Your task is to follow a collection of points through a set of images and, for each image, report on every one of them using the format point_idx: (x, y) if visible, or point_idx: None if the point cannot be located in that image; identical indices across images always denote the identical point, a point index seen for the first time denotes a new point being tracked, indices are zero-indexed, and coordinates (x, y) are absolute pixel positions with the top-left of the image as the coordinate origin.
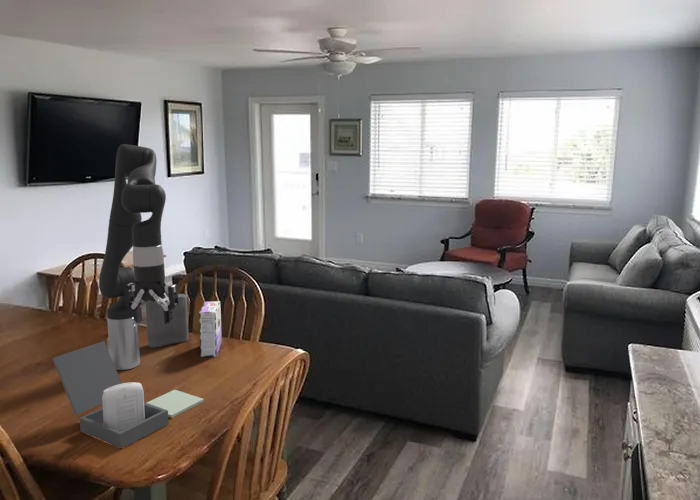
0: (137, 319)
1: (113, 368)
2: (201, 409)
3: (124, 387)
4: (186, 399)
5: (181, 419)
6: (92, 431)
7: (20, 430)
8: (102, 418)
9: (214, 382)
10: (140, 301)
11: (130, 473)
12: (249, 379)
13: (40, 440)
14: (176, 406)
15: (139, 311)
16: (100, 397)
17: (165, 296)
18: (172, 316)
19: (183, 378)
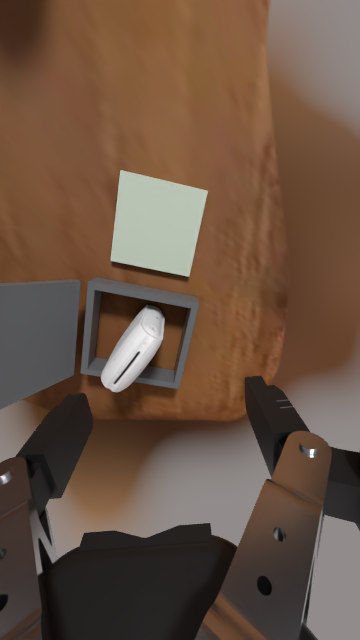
0: (87, 439)
1: (21, 290)
2: (220, 226)
3: (138, 370)
4: (175, 207)
5: (207, 274)
6: None
7: None
8: (95, 334)
9: (174, 75)
10: (54, 560)
11: (225, 409)
12: (252, 11)
13: (59, 394)
14: (175, 243)
15: (62, 454)
16: (67, 334)
17: (306, 559)
18: (289, 402)
19: (86, 82)
